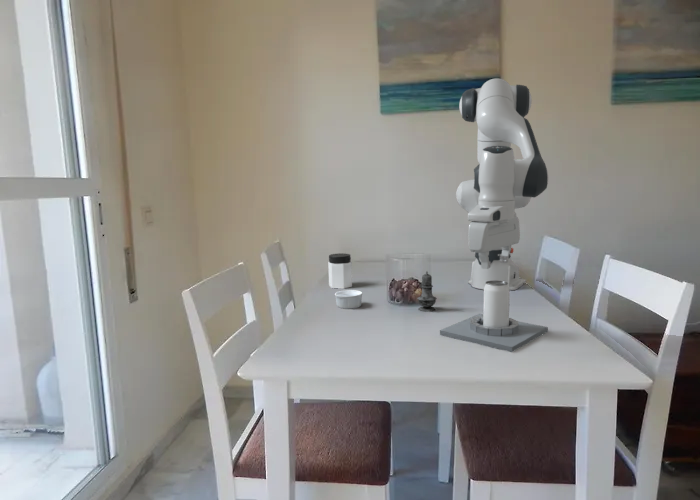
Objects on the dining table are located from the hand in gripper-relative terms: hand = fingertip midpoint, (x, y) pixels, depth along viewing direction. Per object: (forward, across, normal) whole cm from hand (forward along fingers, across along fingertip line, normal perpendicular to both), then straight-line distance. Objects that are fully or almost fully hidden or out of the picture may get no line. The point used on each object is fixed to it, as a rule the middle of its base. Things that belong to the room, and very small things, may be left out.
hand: (495, 265), depth 130 cm
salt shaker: (+18, -8, -27) cm, 33 cm away
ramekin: (+18, +4, -49) cm, 52 cm away
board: (+18, 0, 0) cm, 18 cm away
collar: (+17, 0, 0) cm, 17 cm away
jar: (+19, -14, -71) cm, 75 cm away
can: (+17, -1, 0) cm, 17 cm away
